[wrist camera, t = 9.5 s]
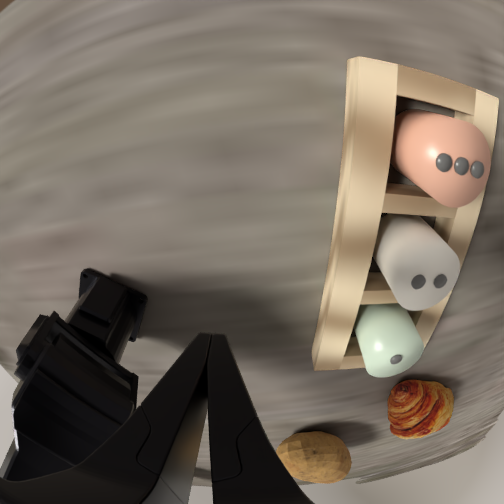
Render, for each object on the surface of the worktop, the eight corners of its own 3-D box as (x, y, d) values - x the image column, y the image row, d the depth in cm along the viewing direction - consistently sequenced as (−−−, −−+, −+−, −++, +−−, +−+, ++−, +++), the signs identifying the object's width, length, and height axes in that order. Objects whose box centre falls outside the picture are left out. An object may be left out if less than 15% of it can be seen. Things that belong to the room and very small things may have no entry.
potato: (311, 409, 34) (317, 464, 27) (360, 433, 39) (367, 475, 32) (256, 431, 38) (254, 480, 31) (311, 452, 43) (314, 491, 36)
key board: (409, 344, 27) (417, 361, 25) (311, 351, 28) (314, 370, 26) (479, 94, 15) (498, 98, 13) (347, 59, 15) (359, 56, 13)
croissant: (442, 390, 40) (474, 410, 32) (407, 436, 39) (435, 459, 32) (402, 344, 32) (448, 372, 25) (350, 409, 31) (390, 446, 24)
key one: (393, 330, 26) (411, 375, 21) (346, 333, 26) (359, 382, 21) (408, 290, 24) (434, 335, 19) (358, 291, 24) (377, 341, 19)
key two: (416, 266, 22) (445, 310, 18) (364, 266, 23) (386, 314, 18) (431, 211, 20) (470, 248, 15) (375, 207, 20) (408, 247, 15)
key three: (438, 180, 19) (482, 212, 14) (380, 173, 19) (418, 205, 14) (447, 116, 16) (498, 132, 11) (388, 102, 16) (432, 112, 11)
